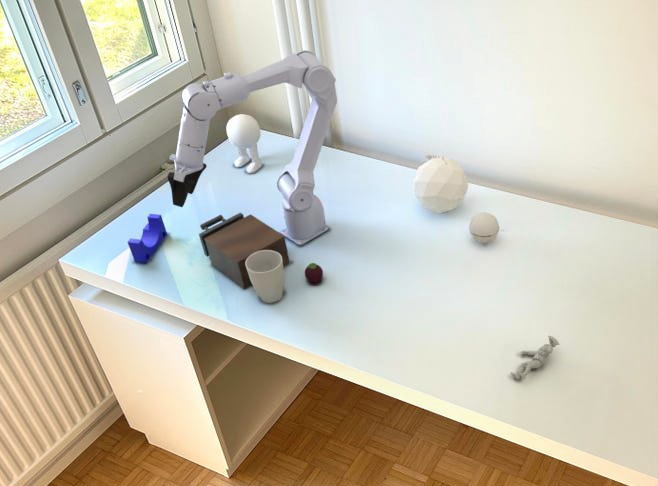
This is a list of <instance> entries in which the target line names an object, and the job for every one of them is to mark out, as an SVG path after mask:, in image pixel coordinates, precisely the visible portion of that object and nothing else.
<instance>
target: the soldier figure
mask: <svg viewBox="0 0 658 486" xmlns="http://www.w3.org/2000/svg"><path fill="white" fill-rule="evenodd" d="M547 337H548V342H549V343H545V344H543V345H542V346H540V347H539V348H538V350H536V351H527V350H522V351H520V354H522V356H524V355H526V354H527V356H528V355H529V356H533V358H532V360H527V361H524V362H521V363H520V365H519V366H518V370H517V371H516V373H514V372H513V371H511V372H510V375H511V376H512V377H513V378H515V379H516V380H520V378H521V379H522V380H526V377H527V375H529V373H530V371H531V370H532V369H533V370H534V369H538V368H541V367H542V366H543V364H544V363H545V359H546V358H547V357H549V356H550V355H551V354H552V353H553V352H554V348H556V346H560V343H559V340H558V339H556V338H555V337H553V336H551V335H548V336H547Z"/></svg>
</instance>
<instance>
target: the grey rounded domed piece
mask: <svg viewBox="0 0 658 486" xmlns="http://www.w3.org/2000/svg"><path fill="white" fill-rule="evenodd" d="M468 230H469V234H470V236H471V237H472V239H473V240H475V241H476V242H477V243H483V244H484V243H485V244H487V243H489V242H492V241H493V240H494V239H495V238H497V236H498V233H499V232H503V230H502V229H501V230H500V224H499V221H498V219H497V217H496V216H495V215H493V214H492V213H490V212H487V211H483V212H479V213H477V214H475V215H474V216H473V217H472V218H471V220H470V221H469V225H468Z"/></svg>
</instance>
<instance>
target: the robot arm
mask: <svg viewBox="0 0 658 486" xmlns="http://www.w3.org/2000/svg"><path fill="white" fill-rule="evenodd" d="M223 75H224V76H222V77H218V78H216V79H213V80H210V81H208V80H204V81H202V83H198V82H193V83H190V84H188V85H186V87H185V88H184V89H183V91H182V92H180V101H181V102H182V104H183V107H182V115H181V116H182V117H181V119H180V126H179V132H178V138H177V145H176V146H177V147H176V152H175V154H174V153H172V154H171V155H169V160H170V161H173V162H174V163H173V164H174V172H173V171H169V172H168V173H167V177H166V178H167V179H166V180H167V181H168V183H169V186H170V190H171V199H172V204H173V205H174V206H176V207H179V208H183V207H184V205H185V203H186V201H187V198H188V195H192V194H193V193H195V190H196V187H197V185H198V182H199V179H200V177H201V175H202V174H203V172H205V170H206V168H207V167H208V165H207V163H204V159H205V152H206V146H207V140H208V135H209V128H210V123H211V119H212V118H213V117H215V115H216V113H217V112H218V111H220V110H221V109H225V108H227V107H230V106H233V105H237V104H239V103H242V102H244V101H246V100H247V99H248V98H249V96H250V93H253V92H256V91H260V90H263V89H266V88H270V87H273V86H277V85H280V84H284V83H286V84H289V85H291V86H293V87H297V88H299V89H302V88H303V86H304V87H305V89H306V91H307V93H308V95H309V97H310V98H311V102H310V105H309V108H308V110H307V114H306V117H305V120H304V123H303V126H302V129H301V133H300V135H299V139H298V142H297V145H296V148H295V151H294V154H293V157H292V161H291V162H290V163H289V162H288V163H287V164H285V167H284V170H283V171H282V173H280V175H279V176H278V177H277V180H276V188H277V190H278V191H279V193H281V194H282V196H283V197H282V202H281V204H282V209H283V214H284V215H283V216H284V220H285V225H286V228H285V229H283V230H281V231H280V234H282V235H283V236H285V238H287V239H288V240H290V241H292V242H293V243H295V244H296V245H297V246H303V245H305V244H307V243H308V242H310V241H311V240H313V239H315V238H317V237H318V236H320V235H322V234H324V233H326V232H327V231H328V230H329V227H327V224H326V217H325V209H324V205H323V203H322V201H321V200H320V198H319V197H318V196H317V195H316V194H314V190H315V187H316V184H315V177H314V170H315V169H316V164H317V162H318V160H319V159H318V158H319V156H320V153H321V150H322V148H323V144H324V141H325V138H326V135H327V132H328V129H329V127H330V124H331V121H332V119H333V115H334V112H335V109H336V106H337V103H338V97H337V91H336V90H337V89H336V81H337V80H336V79H337V78H336V77H335V76H334V74H333V73H332V71H331V70H330V68H329V67H327V66H326V65H325V64H324V63H323V62H322V61H321V60H320V59H319V58H318V57H317V56H316V54H315V53H314V52H312V51H310V50H300V51H298V52H296V53H289V54H287V56H286V57H284V58H283V59H280V60H279V61H276V62H274V63H271V64H269V65H266V66H264V67H262V68H260V69H257V70H255V71H252V72H250V73H247V74H245V75H241V74H240V73H237V72H233V73H231V72H230V71H227V72H224V73H223Z"/></svg>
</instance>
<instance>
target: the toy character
mask: <svg viewBox="0 0 658 486" xmlns="http://www.w3.org/2000/svg"><path fill="white" fill-rule="evenodd" d="M226 135H227V138H228V140H229V142H230V143H231V144H232V145H234V147H236V148H237V151H238V155H239V157H238V158H236V159H235V161H234V167H236V168H241V167H244V165H246V164H248V163H249V162H250V160H251V163H249V164H248V166H247V167H246V173H248V174H253V173H254V174H255V172H258V170H259V169H261V167H262V166H263V163H262V160H261V159H260V156H259V155H260V154H259V149H258V143H259V141H260V138H261V127H260V125H259V123H258V121H257V120H256V118H254V117H253V116H251V115H249V114H244V113H239V114H235V115H234V116H232V117H231V118H230V119H229V120H228V121H227V123H226ZM247 149H248V152H249V153H248V152H247Z"/></svg>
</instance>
